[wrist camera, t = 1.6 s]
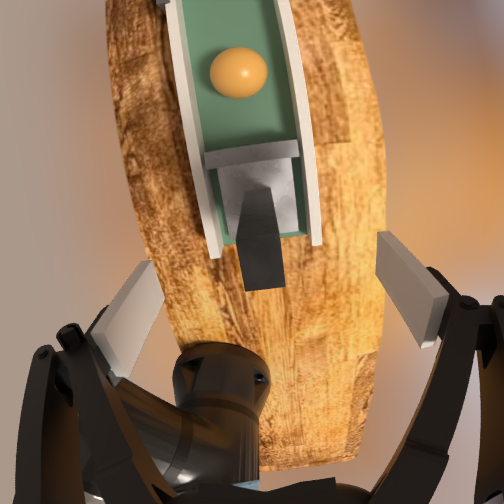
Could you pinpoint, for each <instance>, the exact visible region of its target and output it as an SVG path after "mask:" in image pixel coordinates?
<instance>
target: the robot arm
mask: <svg viewBox="0 0 504 504" xmlns="http://www.w3.org/2000/svg"><path fill="white" fill-rule="evenodd" d="M375 274H376V276H377V277H378V279H379V280H380V282H381V283H382V285H383V287H384V288H385V290H386V291H387V293H388V294H389V296H390V298H391V299H392V301H393V302H394V304H395V306H396V307H397V309H398V311H399V312H400V314H401V316H402V317H403V319H404V321H405V322H406V324H407V326H408V327H409V329H410V331H411V333H412V334H413V336H414V338H415V340H416V341H417V343H418V345H419V347H420V349H422V348H426V347H429V346H433V345H434V344H435V342H436V339H437V336H439V337H440V338H441V340H442V342H441V344H440V348H439V350H438V353H437V356H436V360H435V363H434V366H433V369H432V372H431V374H430V377H429V380H428V382H427V385H426V388H425V390H424V393H423V395H422V397H421V400H420V403H419V405H418V407H417V409H416V411H415V414H414V416H413V418H412V420H411V422H410V425H409V427H408V429H407V431H406V433H405V435H404V437H403V439H402V441H401V443H400V444H399V446H398V448H397V450H396V452H395V454H394V455H393V457H392V459H391V461H390V462H389V464H388V466H387V468H386V469H385V471H384V472H383V474H382V476H381V477H380V478H379V480H378V481H377V483H376V484H375V486H374V487H373V489H372V490H371V492H369V491H367V490H365V489H362V488H360V487H357V486H353V485H349V484H342V483H336V481H335V477H332V478H326V479H320V480H312V481H303V482H299V483H296V484H292V485H289V486H286V487H283V488H279V489H275V490H271V491H268V492H262V491H258V485H259V484H260V480H259V417H260V415H261V412H262V410H263V407H264V405H265V402H266V400H267V397H268V395H269V392H270V387H271V380H270V371H269V368H268V366H267V365H266V363H265V362H264V361H263V360H262V359H261V358H260V357H259V356H257V355H256V354H254V353H253V352H251V351H249V350H247V349H244V348H242V347H239V346H235V345H231V344H224V343H206V344H200V345H197V346H194V347H191V348H189V349H187V350H186V351H184V352H183V353H182V354H181V355H180V356H179V357H178V359H177V361H176V364H175V367H174V370H173V377H172V379H173V387H174V394H175V402H176V406H174V405H172V404H170V403H168V402H166V401H164V400H162V399H160V398H159V397H157V396H155V395H153V394H151V393H149V392H148V391H146V390H144V389H142V388H141V387H139V386H137V385H136V384H134V383H132V382H130V381H129V380H127V379H125V378H124V377H130V375H131V372H132V370H133V368H134V365H135V363H136V360H137V359H138V356H139V354H140V352H141V349H142V347H143V345H144V343H145V340H146V338H147V336H148V334H149V332H150V330H151V327H152V325H153V323H154V321H155V319H156V317H157V314H158V312H159V310H160V308H161V306H162V304H163V302H164V300H165V297H164V294H163V291H162V289H161V286H160V283H159V280H158V277H157V274H156V271H155V268H154V265H153V262H152V260H149V261H141V262H140V263H139V265H138V266H137V268H136V269H135V270H134V271H133V273H132V274H131V275H130V277H129V278H128V280H127V281H126V282H125V284H124V285H123V286H122V288H121V289H120V291H119V292H118V293H117V295H116V296H115V298H114V299H113V300H112V302H111V303H110V305H107V306H106V307H105V308H103V309H102V310H101V311H100V313H99V314H98V315H97V318H95V320H94V321H93V323H92V324H91V326H90V327H89V329H88V330H87V332H86V333H85V334H83V332H82V330H81V328H80V326H79V325H78V324H76V323H71V324H68V325H66V326H64V327H62V328H61V329H60V330H59V331H58V333H57V335H56V338H57V340H58V342H59V343H60V345H61V346H62V348H63V351H59V352H55V350H54V349H53V347H52V346H51V345H44V346H41V347H40V348H38V349H37V351H36V352H35V353H34V355H33V359H32V363H31V367H30V371H29V375H28V379H27V384H26V389H25V394H24V399H23V405H22V411H21V417H20V424H19V432H18V442H17V453H16V474H15V476H16V477H15V492H16V493H15V496H14V500H13V504H429V502H430V500H431V498H432V496H433V494H434V492H435V490H436V488H437V486H438V484H439V482H440V480H441V477H442V475H443V472H444V470H445V468H446V465H447V463H448V460H449V455H448V454H447V453H448V449H449V446H450V443H451V441H452V438H453V435H454V432H455V429H456V426H457V423H458V420H459V417H460V413H461V410H462V407H463V403H464V399H465V395H466V392H467V387H468V383H469V379H470V374H471V370H472V364H473V359H474V354H475V350H477V357H478V367H479V378H480V398H481V432H480V450H479V462H478V471H477V478H476V486H475V494H474V504H504V296H503V295H498V296H496V297H494V299H493V302H492V305H480V304H479V302H478V301H477V300H476V299H474V298H472V297H470V296H464V295H462V296H461V295H460V294H459V293H458V292H457V290H456V289H455V288H454V287H453V286H452V285H451V284H450V283H449V282H448V281H447V280H446V279H445V278H444V276H443V275H442V274H441V273H440V272H439V271H438V270H436V269H434V268H432V267H424V265H422V263H421V262H420V261H419V260H418V259H417V258H416V257H415V256H414V255H413V254H412V253H411V252H410V251H409V250H408V249H407V248H406V247H405V246H404V245H403V244H402V243H401V242H400V241H399V240H398V239H397V238H396V237H395V236H394V235H393V234H392V233H391V232H390V231H382V232H377V255H376V272H375ZM110 369H112V370H110Z"/></svg>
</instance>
